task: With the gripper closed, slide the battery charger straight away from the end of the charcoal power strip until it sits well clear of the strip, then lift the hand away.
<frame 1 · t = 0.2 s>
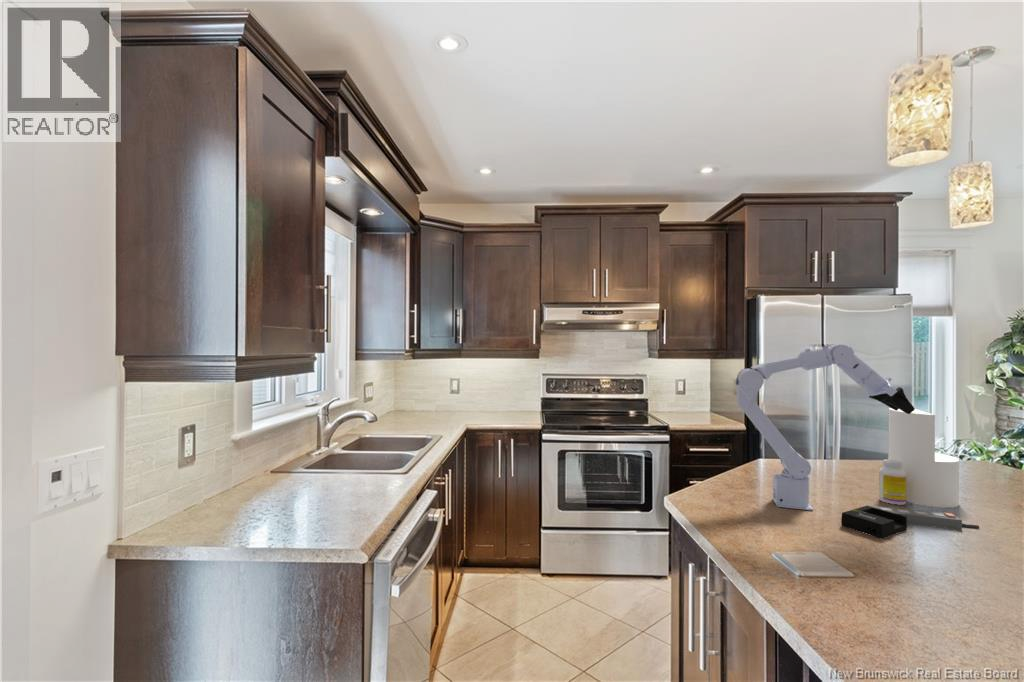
hand: (905, 409, 135), 31 cm above the table, tool tilted 45°, fingers open, 7 cm apart
battery charger: (873, 530, 127), on the table
power strip: (911, 521, 132), on the table
white stepped block: (922, 498, 152), on the table
supplement bottle: (892, 502, 148), on the table
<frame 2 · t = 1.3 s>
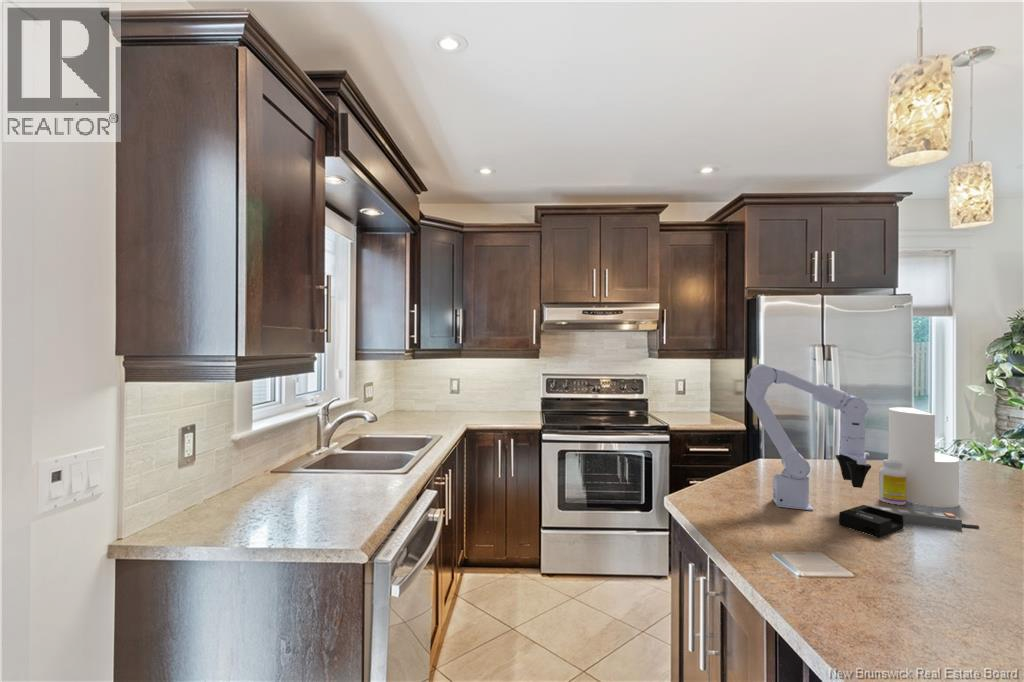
hand: (852, 483, 139), 8 cm above the table, tool pointing down, fingers open, 7 cm apart
nothing on the table moved.
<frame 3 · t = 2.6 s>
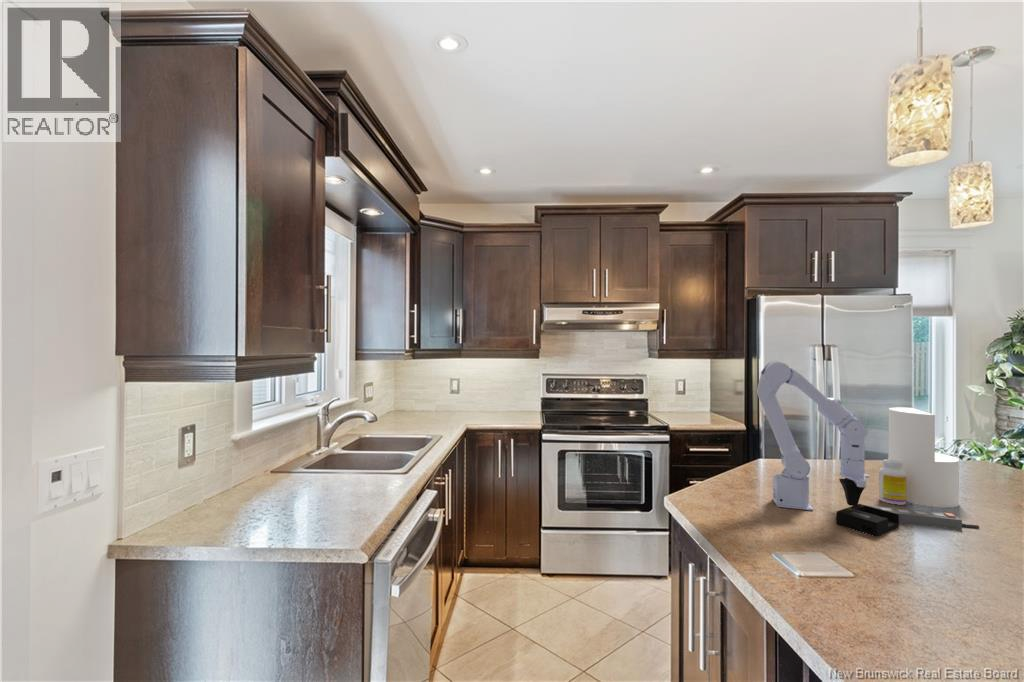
hand: (852, 505, 139), 2 cm above the table, tool pointing down, fingers closed
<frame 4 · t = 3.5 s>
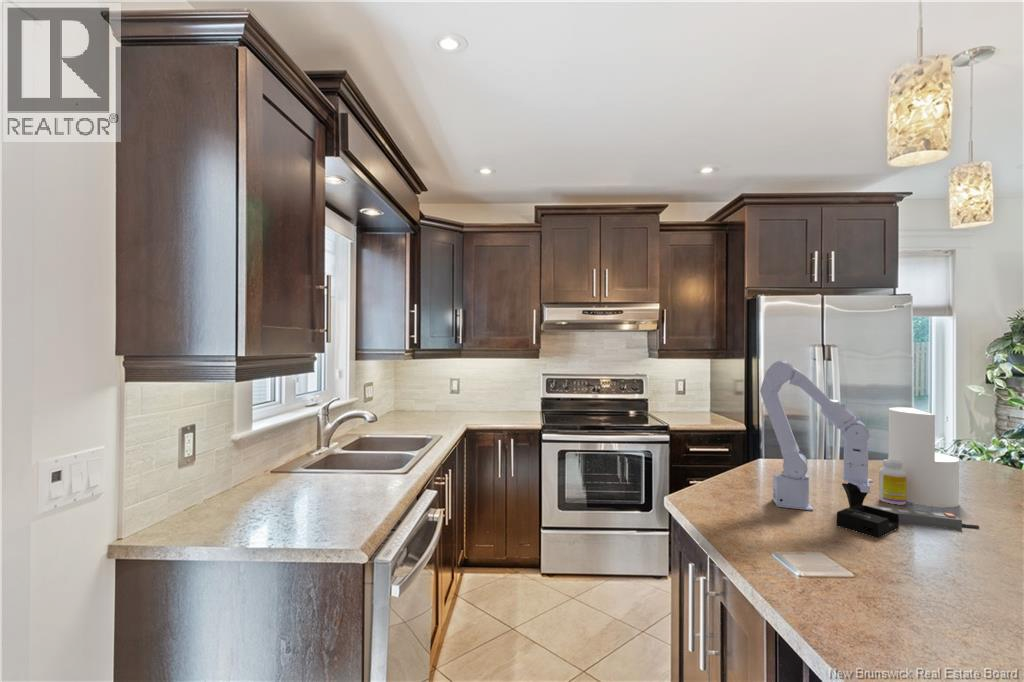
hand: (855, 510, 136), 1 cm above the table, tool pointing down, fingers closed
battery charger: (867, 528, 128), on the table, touching gripper
everything else where it was.
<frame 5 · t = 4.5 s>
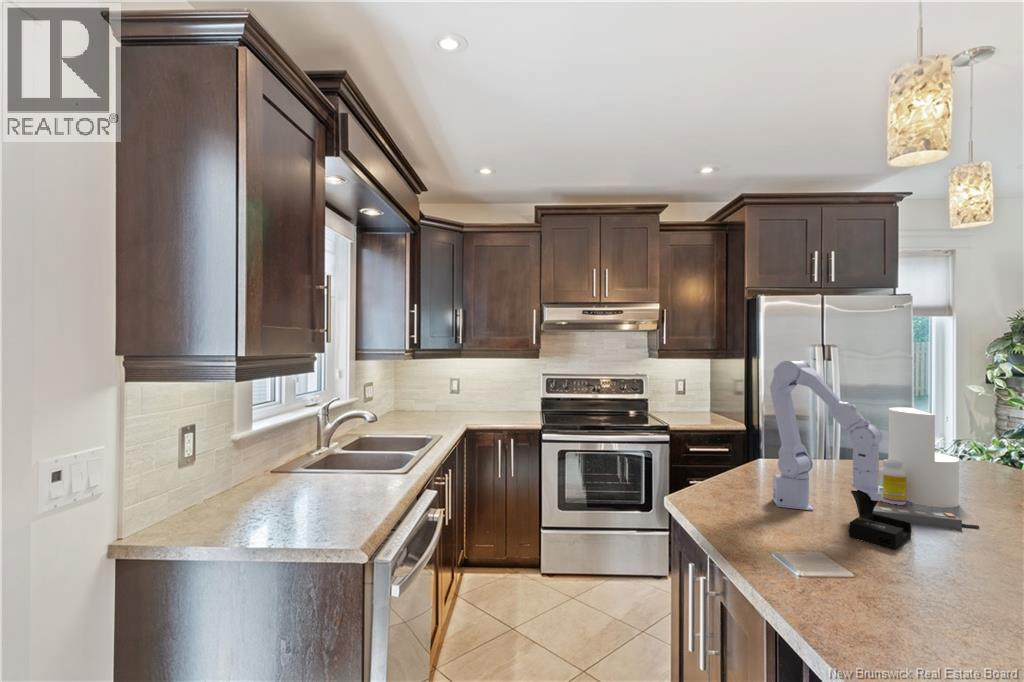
hand: (865, 519, 129), 1 cm above the table, tool pointing down, fingers closed
battery charger: (880, 538, 121), on the table, touching gripper
everything else where it was.
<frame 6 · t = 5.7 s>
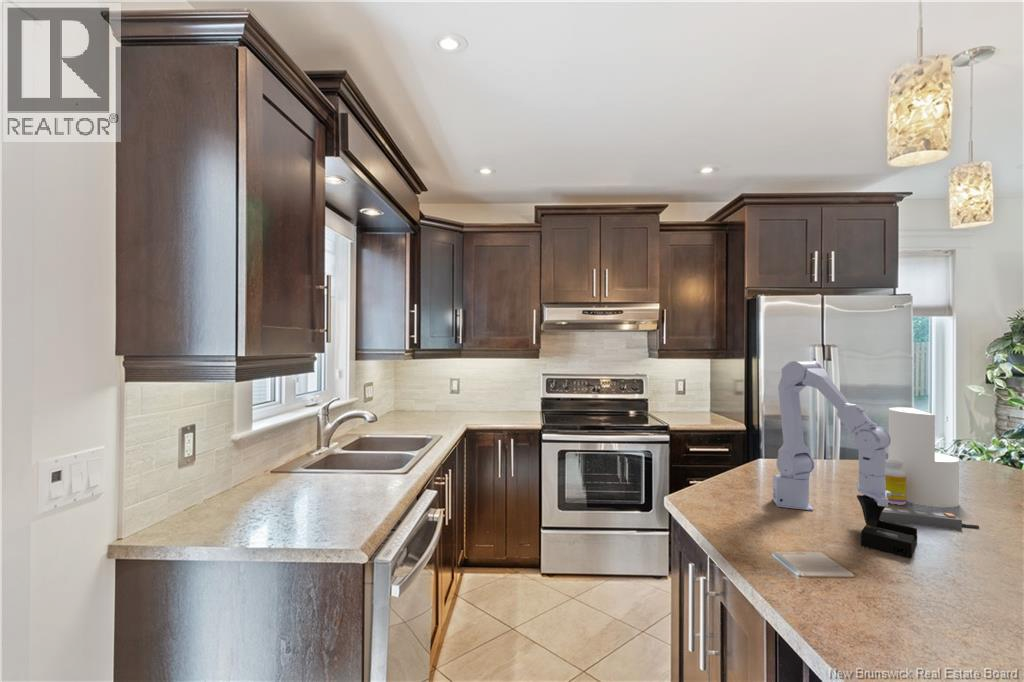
hand: (871, 524, 125), 1 cm above the table, tool pointing down, fingers closed
battery charger: (889, 546, 117), on the table
everything else where it was.
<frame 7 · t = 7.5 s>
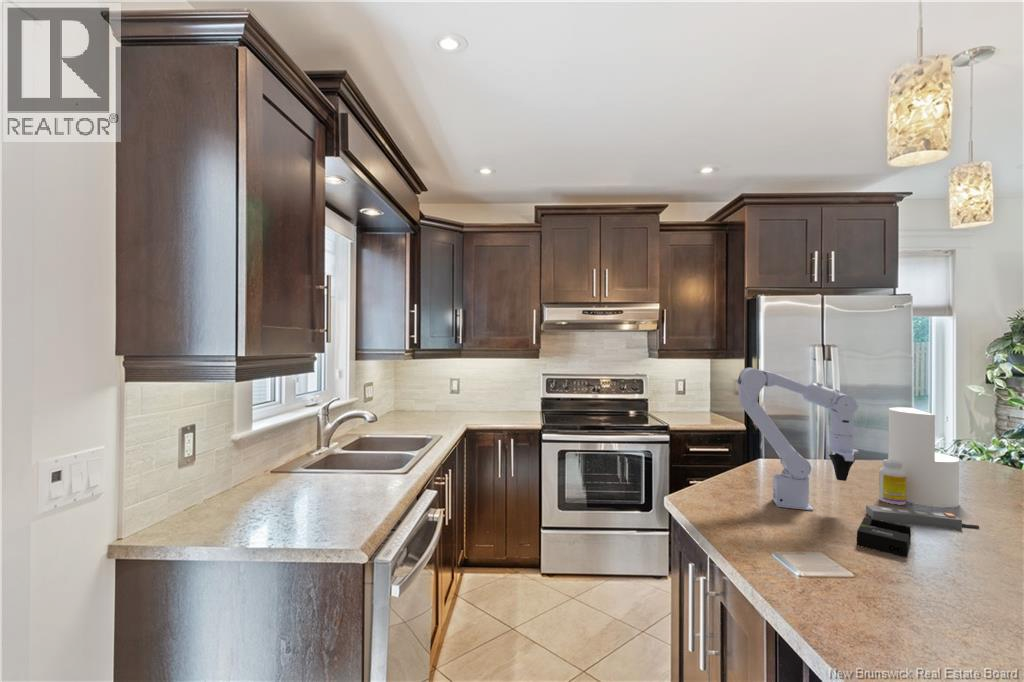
hand: (841, 480, 140), 9 cm above the table, tool pointing down, fingers closed
battery charger: (884, 545, 117), on the table
everything else where it was.
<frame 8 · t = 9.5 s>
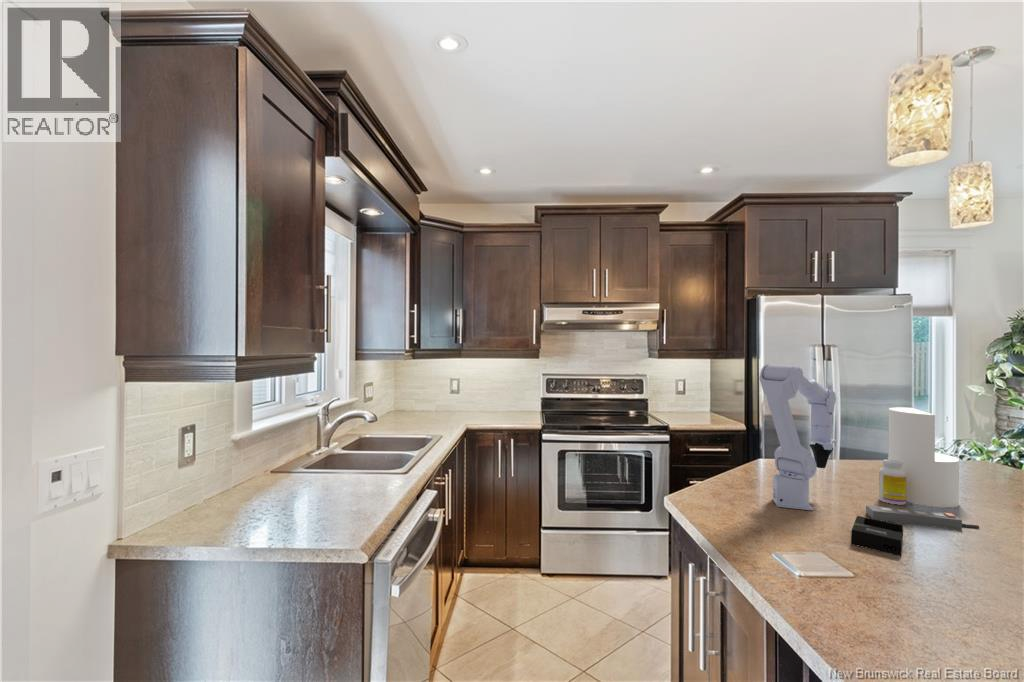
hand: (820, 467, 152), 9 cm above the table, tool pointing down, fingers closed
battery charger: (877, 543, 118), on the table
everything else where it was.
at the end: battery charger inside the target area (4.7 cm from its centre), on the table; battery charger touching table; battery charger tilted 0° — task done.
